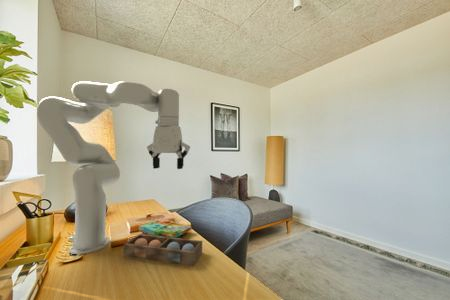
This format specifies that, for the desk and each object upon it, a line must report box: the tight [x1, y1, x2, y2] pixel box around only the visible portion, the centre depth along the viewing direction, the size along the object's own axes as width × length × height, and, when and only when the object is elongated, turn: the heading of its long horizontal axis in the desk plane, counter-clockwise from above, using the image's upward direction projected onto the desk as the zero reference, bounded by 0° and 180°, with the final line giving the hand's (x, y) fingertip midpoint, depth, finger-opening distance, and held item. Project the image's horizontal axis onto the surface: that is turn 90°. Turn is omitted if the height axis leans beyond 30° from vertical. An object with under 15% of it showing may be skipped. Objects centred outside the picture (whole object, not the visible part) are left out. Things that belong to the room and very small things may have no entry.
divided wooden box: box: [123, 233, 203, 268], centre depth 63 cm, size 25×8×5 cm, turn 78°
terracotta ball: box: [148, 240, 161, 247], centre depth 64 cm, size 5×5×5 cm
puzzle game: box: [139, 217, 192, 238], centre depth 80 cm, size 12×5×20 cm
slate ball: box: [167, 242, 180, 250], centre depth 62 cm, size 5×5×5 cm
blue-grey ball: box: [182, 243, 195, 251], centre depth 61 cm, size 5×5×5 cm
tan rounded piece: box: [134, 238, 148, 246], centre depth 65 cm, size 5×5×5 cm
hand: (168, 168), depth 68 cm, fingers open, 9 cm apart
